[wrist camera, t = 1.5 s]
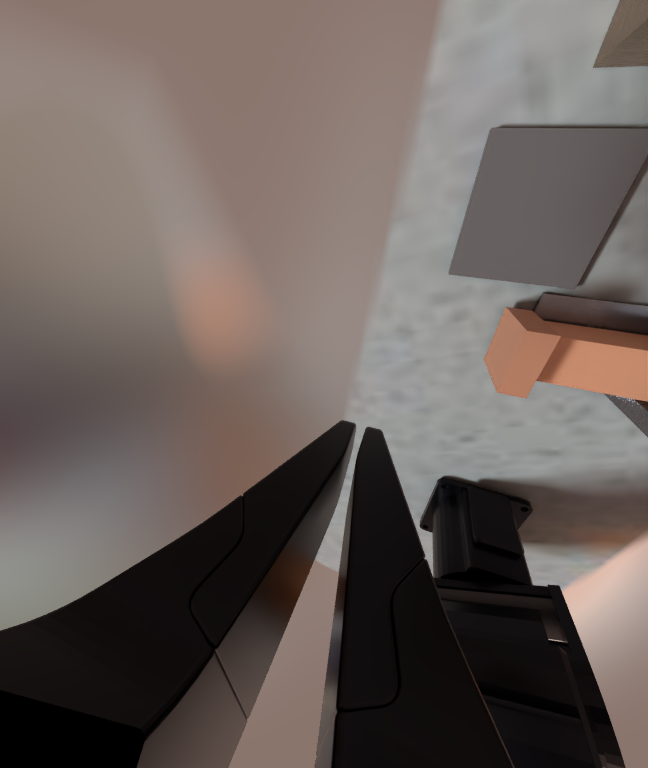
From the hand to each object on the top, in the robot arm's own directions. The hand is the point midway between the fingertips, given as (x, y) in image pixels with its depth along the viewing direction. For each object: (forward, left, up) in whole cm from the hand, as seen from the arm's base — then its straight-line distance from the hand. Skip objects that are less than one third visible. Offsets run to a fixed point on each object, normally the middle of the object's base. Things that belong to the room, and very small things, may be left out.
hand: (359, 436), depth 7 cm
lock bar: (0, -9, -11) cm, 14 cm away
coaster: (+6, -5, -11) cm, 13 cm away
